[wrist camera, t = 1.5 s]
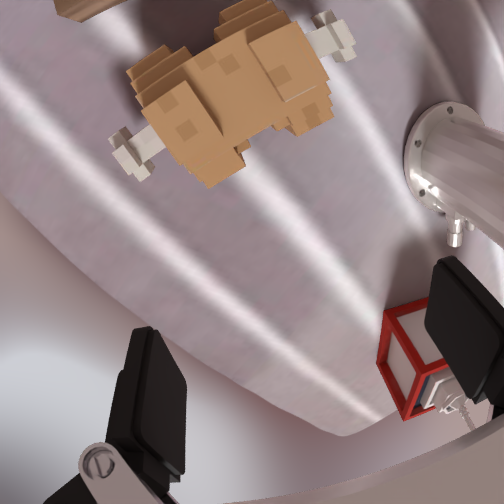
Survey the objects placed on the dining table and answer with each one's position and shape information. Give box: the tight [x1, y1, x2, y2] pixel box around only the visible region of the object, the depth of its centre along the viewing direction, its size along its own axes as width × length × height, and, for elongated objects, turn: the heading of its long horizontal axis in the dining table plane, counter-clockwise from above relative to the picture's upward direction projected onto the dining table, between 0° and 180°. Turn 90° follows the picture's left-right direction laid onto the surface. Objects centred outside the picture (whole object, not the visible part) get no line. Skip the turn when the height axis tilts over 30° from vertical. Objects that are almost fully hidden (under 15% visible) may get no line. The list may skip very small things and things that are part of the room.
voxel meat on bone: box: [108, 0, 357, 189], centre depth 20 cm, size 10×18×10 cm, turn 121°
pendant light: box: [376, 297, 476, 431], centre depth 30 cm, size 11×11×30 cm
